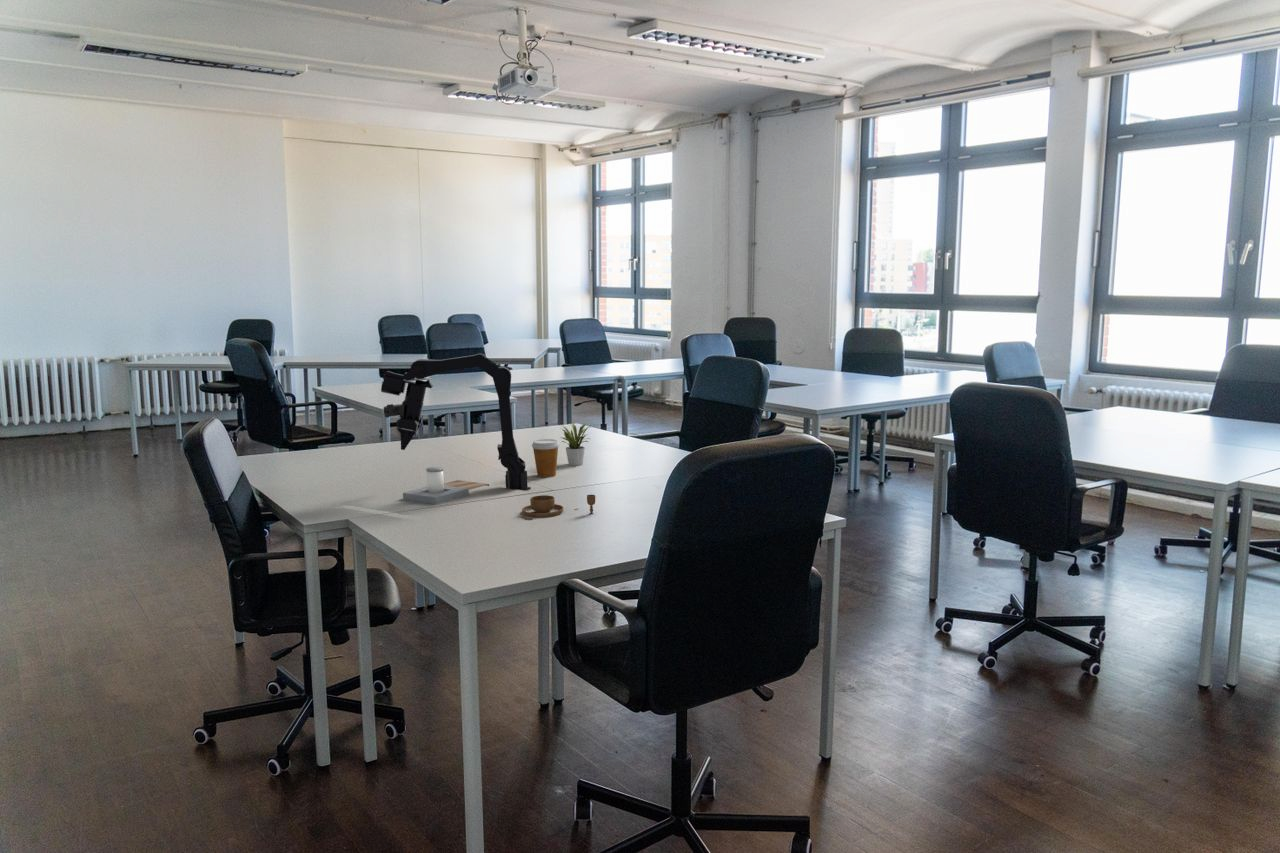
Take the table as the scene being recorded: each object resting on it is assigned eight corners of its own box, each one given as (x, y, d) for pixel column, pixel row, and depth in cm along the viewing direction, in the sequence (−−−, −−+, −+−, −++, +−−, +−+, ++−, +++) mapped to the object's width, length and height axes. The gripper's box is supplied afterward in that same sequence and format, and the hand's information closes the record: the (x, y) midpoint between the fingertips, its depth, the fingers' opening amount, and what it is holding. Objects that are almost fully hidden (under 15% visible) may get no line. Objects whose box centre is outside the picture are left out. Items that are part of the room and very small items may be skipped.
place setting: (550, 505, 273) (549, 486, 272) (599, 514, 260) (599, 494, 259) (506, 517, 259) (506, 497, 258) (556, 527, 247) (555, 506, 246)
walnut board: (489, 487, 297) (489, 484, 297) (459, 495, 286) (459, 492, 285) (457, 482, 305) (457, 480, 304) (427, 491, 293) (427, 488, 293)
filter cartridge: (448, 496, 281) (446, 467, 279) (436, 499, 276) (434, 470, 275) (436, 494, 283) (434, 466, 282) (424, 497, 279) (422, 469, 278)
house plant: (601, 460, 340) (600, 417, 338) (595, 467, 326) (594, 422, 324) (563, 460, 342) (562, 417, 339) (556, 467, 328) (555, 422, 325)
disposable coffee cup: (529, 474, 317) (527, 440, 315) (555, 471, 321) (553, 438, 319) (537, 479, 308) (536, 444, 307) (564, 476, 312) (563, 442, 311)
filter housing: (468, 498, 282) (468, 488, 282) (436, 507, 270) (436, 497, 270) (436, 493, 289) (435, 484, 289) (403, 502, 278) (402, 492, 277)
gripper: (392, 390, 291) (382, 437, 293) (384, 397, 273) (374, 447, 275) (426, 397, 293) (417, 444, 295) (421, 404, 275) (411, 454, 277)
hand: (404, 447), depth 285 cm, fingers open, 9 cm apart
